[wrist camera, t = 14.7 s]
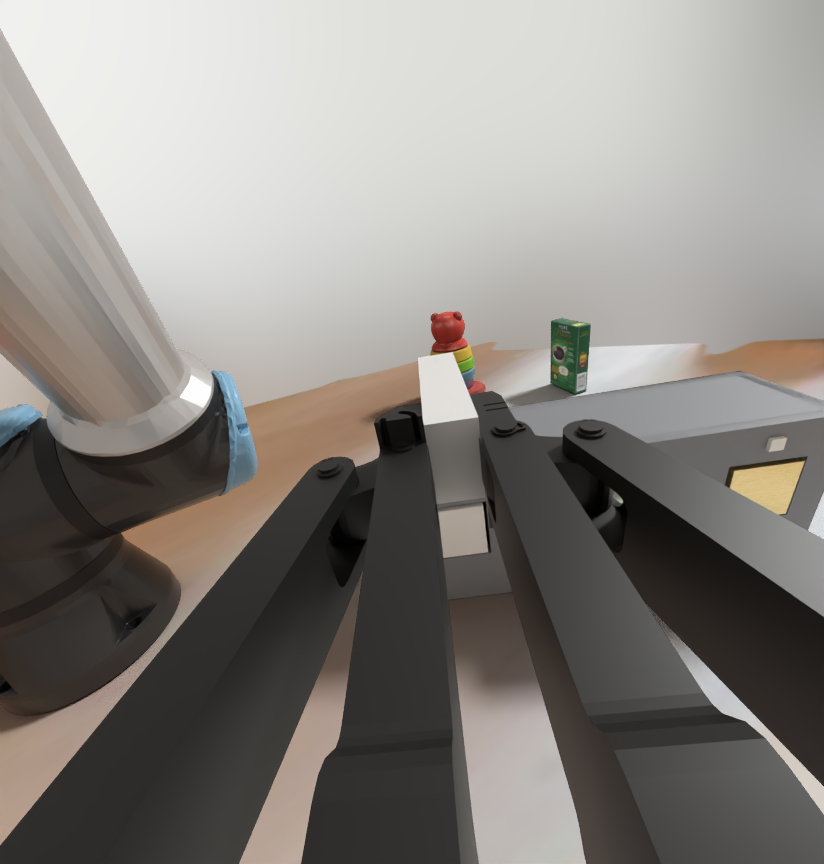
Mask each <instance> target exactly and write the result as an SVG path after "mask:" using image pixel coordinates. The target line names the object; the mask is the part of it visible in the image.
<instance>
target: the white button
mask: <svg viewBox="0 0 824 864" xmlns="http://www.w3.org/2000/svg"><path fill="white" fill-rule="evenodd" d="M438 514H439V523H440V532H441V541H442V550H443V558H447V557H455V556H463V555H471V554H478V553H486V552H488V546H487V537H486V528H485V518H484V509H483V504H482V502H477V503H470V504H462V505H455V506H448V507H441V508H438Z"/></svg>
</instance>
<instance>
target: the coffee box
mask: <svg viewBox="0 0 824 864" xmlns="http://www.w3.org/2000/svg"><path fill="white" fill-rule="evenodd" d="M590 327H591V324H588V323H583V322H578V321H572V320H568V319H563V318H561V319H556V320H553V321H551V384H553V385H555V386H558V387H560V388H562V389H565V390H567V391H569V392H572V393H574V394H578V393H582V392H585V391H586V385H587V370H588V356H589V341H590Z"/></svg>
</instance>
